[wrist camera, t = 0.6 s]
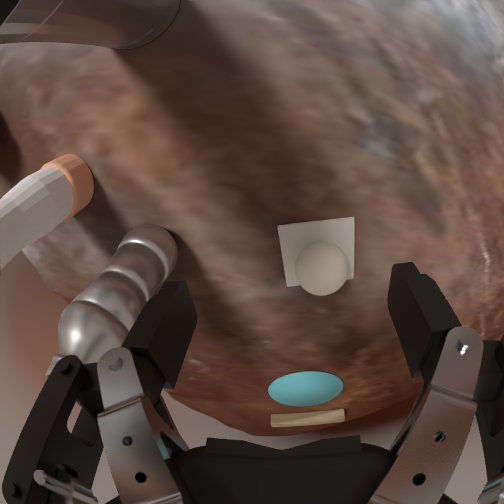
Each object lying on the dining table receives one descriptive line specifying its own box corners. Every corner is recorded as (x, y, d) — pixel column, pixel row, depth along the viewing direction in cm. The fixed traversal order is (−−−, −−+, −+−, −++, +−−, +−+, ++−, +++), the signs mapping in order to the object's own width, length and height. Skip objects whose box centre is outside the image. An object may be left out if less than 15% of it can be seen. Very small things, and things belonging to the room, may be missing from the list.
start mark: (277, 225, 28) (277, 226, 28) (353, 216, 27) (354, 217, 26) (286, 285, 32) (286, 286, 32) (353, 278, 31) (353, 279, 30)
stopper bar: (271, 414, 52) (270, 423, 50) (343, 408, 49) (344, 418, 47) (272, 417, 53) (271, 426, 51) (343, 411, 51) (343, 421, 48)
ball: (290, 234, 28) (292, 264, 24) (342, 228, 27) (354, 257, 23) (296, 276, 31) (298, 309, 27) (343, 270, 30) (352, 303, 26)
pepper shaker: (77, 219, 30) (-21, 320, 14) (46, 181, 27) (-61, 262, 11) (104, 183, 27) (-21, 289, 11) (68, 141, 24) (-66, 217, 8)
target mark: (262, 373, 43) (262, 374, 43) (345, 366, 40) (346, 367, 40) (273, 407, 50) (273, 407, 50) (340, 401, 48) (340, 402, 47)
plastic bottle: (183, 269, 32) (117, 423, 15) (133, 259, 32) (50, 392, 15) (184, 221, 29) (90, 385, 12) (129, 213, 29) (15, 346, 12)
